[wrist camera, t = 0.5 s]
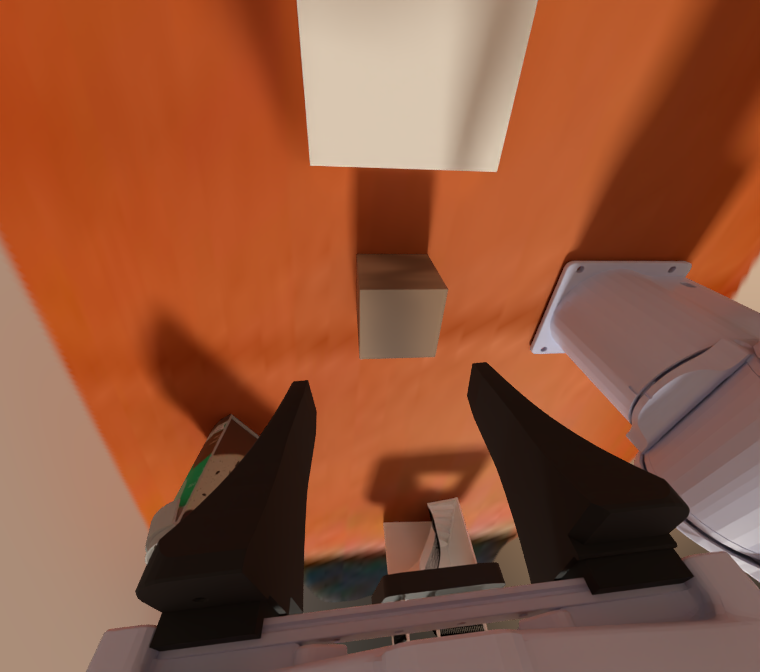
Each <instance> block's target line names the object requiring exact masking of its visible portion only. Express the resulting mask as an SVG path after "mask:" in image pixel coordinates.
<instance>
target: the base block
mask: <svg viewBox="0 0 760 672" xmlns="http://www.w3.org/2000/svg"><path fill="white" fill-rule="evenodd" d="M537 2H538V0H297V10H298V22H299V34H300V46H301V58H302V70H303V83H304V95H305V107H306V119H307V131H308V144H309V156H310V165H311V166H340V167H370V168H399V169H428V170H458V171H487V172H497V169H498V165H499V161H500V157H501V153H502V148H503V144H504V140H505V136H506V132H507V127H508V123H509V119H510V115H511V111H512V106H513V102H514V98H515V94H516V90H517V85H518V81H519V77H520V73H521V69H522V65H523V60H524V56H525V52H526V48H527V44H528V39H529V35H530V31H531V27H532V23H533V18H534V14H535V10H536V6H537Z"/></svg>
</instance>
